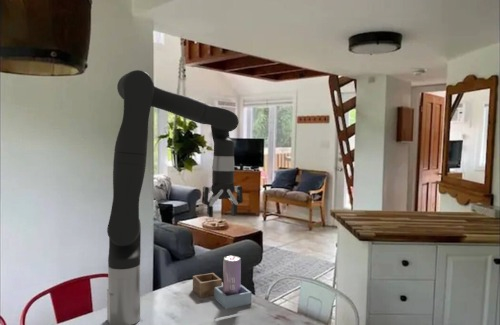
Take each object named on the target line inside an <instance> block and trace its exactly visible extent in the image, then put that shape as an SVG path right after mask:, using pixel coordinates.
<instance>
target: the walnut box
mask: <svg viewBox="0 0 500 325" xmlns="http://www.w3.org/2000/svg"><path fill="white" fill-rule="evenodd" d="M219 286H223V278H220V277H219V276H218V275H217V274H215V273H214V272H210V273H205V274H204V273H203V274H196V275H193V276H192V291H193V292H194V293H195V294H196V296H198V297H199V299H202V298H208V297H214V287H219Z"/></svg>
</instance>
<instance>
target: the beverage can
mask: <svg viewBox="0 0 500 325" xmlns="http://www.w3.org/2000/svg"><path fill="white" fill-rule="evenodd" d="M241 264H242V260H241V257H239V256H237V255H227V256H224V257H223V261H222V269H223V270H222V286H223V293H224V294H225V295H226V296H230V295H235V294H240V293H241V285H242V284H241V283H242V282H241V281H242V275H241V274H242V271H241V270H242V265H241Z"/></svg>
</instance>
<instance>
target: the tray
mask: <svg viewBox="0 0 500 325" xmlns="http://www.w3.org/2000/svg"><path fill="white" fill-rule="evenodd" d="M252 295H253V294H252V291H251V290H249V289H247V287H245V286H244V285H243V284H241V293H240V294H235V295H230V296H226V295H225V294H224V293H223V285H222V286H219V287H214V296H213V298H214V300H215V301H217V302H218V303H219V304H220V305H221V307H223V308H224V309H225V310H226V309H227V310H228V309H232V308H236V307H241V306H246V305H251V304H252Z"/></svg>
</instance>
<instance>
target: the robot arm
mask: <svg viewBox="0 0 500 325" xmlns="http://www.w3.org/2000/svg"><path fill="white" fill-rule="evenodd" d="M116 88H117V90H116V91H117V93H118V95H119V96H120V98H121V99H122V100H123V114H122V115H123V116H122V120H121V124H120V127H119V131H118V133H117V136H116V140H115V145H114V153H113V164H112V167H113V168H112V195H113V197H112V205H111V211H110V215H109V220H108V224H107V228H106V230H107V231H106V232H107V235H108V238H109V240H108V241H109V243H108V245H109V247H108V257H107V258H108V259H107V262H108V264H107V266H108V267H107V268H108V270H107V274H108V277H107V278H108V279H107V280H108V284H107V287H108V288H107V289H106V299H107V300H106V306H107V307H106V320H107V323H108V325H135V324H137V323H138V322H140V320H141V250H142V249H141V240H142V239H141V238H142V237H141V236H142V235H141V233H142V232H141V230H142V229H141V228H142V226H141V219H140V198H141V192H142V188H143V183H144V178H145V172H146V167H147V166H146V165H147V158H148V156H147V153H148V138H149V120H150V113H151V108H155V109H159V110H163V111H165V112H168V113H171V114H174V115H177V116H179V117H182V118H184V119H187V120H189V121H192V122H194V123H197V124H201V125H209V126H210V129H211V130H210V132H211V135H212V140H213V158H212V166H211V167H212V168H211V169H212V171H211V172H212V174H211V176H212V177H211V178H212V179H211V181H212V182H211V184H212V185H211V186H206V185H205V186H203V187H202V196H201V203H202V204H203V205H205V206H207V207H206V214H207V216H208V218H213V217H214V206H213V205H214V204H215V202H217V200H223V199H225V200H229V201H230V202H231V209H230V210H231V214H230V215H231V216H233V217H236V216H237V214H238V205H239V204H242V203H243V202H244V200H243V186H242V185H237V186H236V185H235V184H234V183H235V143H234V141H233V139H231V137H230V132H233V131H235V130H236V129H237V127H238V126H239V117H238V115H237V114H236V113H235V112H234V111H233V110H230V109H227V108H223V107H220V106H215V105H212V104H209V103H207V102H204V101H202V100H199V99H197V98H194V97H190V96H187V95H183V94H180V93H175V92H172V91H169V90H165V89H162V88H160V87H158V86H155V83H154V81H153V79H152V76H150V75H149V73H148V72H146V71H144V70H142V69H140V70H139V69H136V70H131V71H129V72H127V73H126V74H124V75H123V76H121V78H120V79H119V80H118V82H117V87H116ZM234 185H235V186H234ZM211 192H212V194H211V196H210V198H209V194H210V193H211ZM234 192H235V193H236V197H235V195H234V194H233V193H234Z"/></svg>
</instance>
